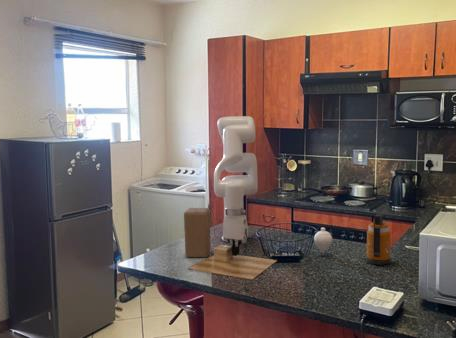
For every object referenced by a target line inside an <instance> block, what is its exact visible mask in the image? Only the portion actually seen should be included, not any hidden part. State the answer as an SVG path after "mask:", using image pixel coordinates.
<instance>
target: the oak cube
mask: <svg viewBox="0 0 456 338" xmlns="http://www.w3.org/2000/svg"><path fill="white" fill-rule="evenodd" d="M213 255H214V260H218V261H225V262H227V261H229V260H230V259H232V258H233V256H232V251H231V246H230V245H225V244H219V245H217V246H215V247H214V248H213Z"/></svg>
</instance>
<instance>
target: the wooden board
mask: <svg viewBox="0 0 456 338" xmlns="http://www.w3.org/2000/svg"><path fill="white" fill-rule="evenodd" d="M276 262H278V260H277V259H272V258H271V259H270V258H263V257H255V256H250V255H249V256H248V255H241V254H238V255H237V256H233V258H232V259H230V260H229V261H227V262H225V261H218V260H214V254H213V255H211V256H210V257H209V256H208V257H207V258H206V259H204V260H202V261H200V262H198V263H197V264H195V265H193V266H191V267H189V268H188V270H193V271H200V272H205V273H210V274H216V275H222V276H227V277H233V278H234V277H235V278H241V279H247V280H254V279H255V278H256V277H258V276H259V275H260V274H261V273H263V272H264V271H265V270H267V269H268V268H270V267H271V266H272V265H273V264H274V263H276Z"/></svg>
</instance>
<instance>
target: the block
mask: <svg viewBox="0 0 456 338" xmlns="http://www.w3.org/2000/svg"><path fill="white" fill-rule="evenodd" d="M183 227H184V255H185V257H186V258H209V255H210V253H211V250H212V236H211V234H212V233H211V209H210V208H209V207H189V208H187V209H186V210H185V211H184V212H183Z"/></svg>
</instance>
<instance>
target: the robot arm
mask: <svg viewBox="0 0 456 338" xmlns="http://www.w3.org/2000/svg"><path fill="white" fill-rule="evenodd" d="M217 130H218V133H219V136H220V137H221V138H220V139H221V141H222V144H223V150H222V151H223V152H222V153H223V156H222V159H221V160H220V161H219V162H218V163H217V165H216V166H215V169H214V171H213V192H214V195H215V196H216V197H218V198H223V222H222V236H221V240H222V241H223V242H226V243H228V244H229V246H231V251H232V256H237V255H240V246H241V245H242V244H245V243H247V242H248V237H249V227H248V226H249V225H248V220H247V215H246V214H247V210H246V209H245V206H244V205H245V204H244V196H248V195H250V196H251V195H256V194H257V193H258V189H259V184H258V183H259V182H258V177H259V176H258V160H257V156H256V155H255V154H254V153H253V152H243V144H252V143H254V142H255V140H256V125H255V120H254V118H253V117H252V116H248V115H244V116H243V115H241V116H238V115H237V116H234V115H233V116H223V117H220V118H218V120H217ZM224 171H225V172H227V173H233V174H234V173H236V174H235V175H225V176H224V177H223V178H222V179H221V174H222V173H223V172H224ZM237 173H246V175H245V174H241V175H239V174H237Z"/></svg>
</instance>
